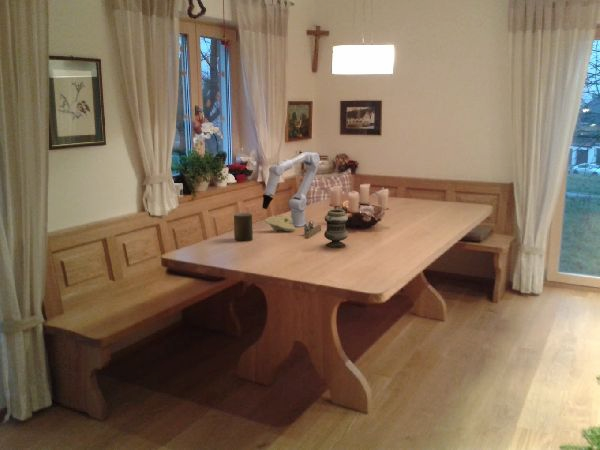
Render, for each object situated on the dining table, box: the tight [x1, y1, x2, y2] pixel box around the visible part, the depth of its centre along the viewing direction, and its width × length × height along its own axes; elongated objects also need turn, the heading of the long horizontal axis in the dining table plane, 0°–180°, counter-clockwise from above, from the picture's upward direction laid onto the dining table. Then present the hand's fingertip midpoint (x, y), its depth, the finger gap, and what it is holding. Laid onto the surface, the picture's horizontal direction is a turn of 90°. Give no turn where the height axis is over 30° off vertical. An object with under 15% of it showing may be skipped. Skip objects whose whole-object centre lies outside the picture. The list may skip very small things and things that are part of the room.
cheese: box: [264, 214, 296, 233], centre depth 322 cm, size 15×7×15 cm
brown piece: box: [303, 220, 322, 239], centre depth 314 cm, size 20×5×6 cm, turn 158°
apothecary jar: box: [323, 208, 349, 249], centre depth 288 cm, size 12×12×18 cm
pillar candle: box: [233, 212, 254, 243], centre depth 302 cm, size 10×10×15 cm
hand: (264, 208), depth 320 cm, fingers open, 7 cm apart
